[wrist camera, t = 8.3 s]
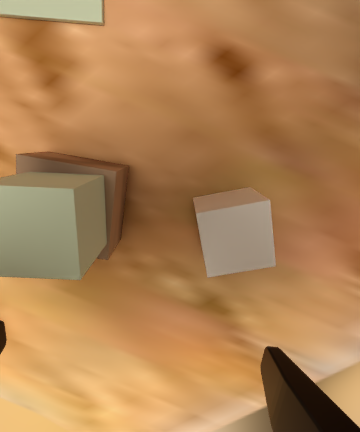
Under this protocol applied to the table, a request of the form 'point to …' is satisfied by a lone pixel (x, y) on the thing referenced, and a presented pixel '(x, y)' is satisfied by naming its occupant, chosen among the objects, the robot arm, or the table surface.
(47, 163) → the walnut base
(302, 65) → the table surface
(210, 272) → the grey block
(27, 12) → the tile
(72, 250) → the sage block
